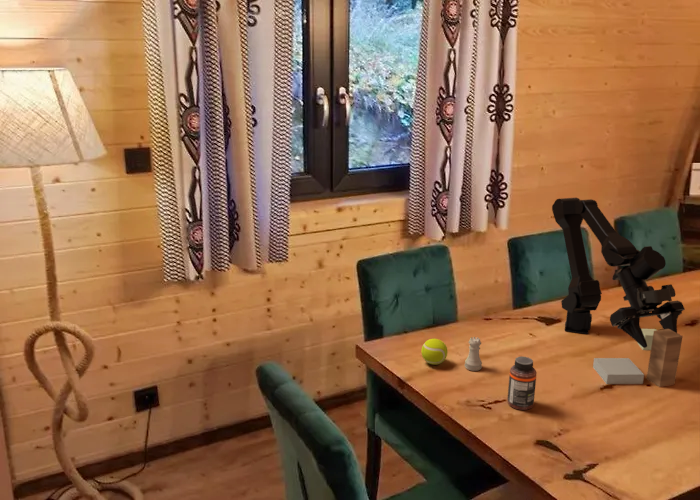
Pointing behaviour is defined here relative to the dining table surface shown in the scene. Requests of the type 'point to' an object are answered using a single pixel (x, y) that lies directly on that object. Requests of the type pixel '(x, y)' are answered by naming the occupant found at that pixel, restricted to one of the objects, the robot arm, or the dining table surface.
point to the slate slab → (618, 371)
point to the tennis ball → (434, 351)
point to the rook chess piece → (473, 355)
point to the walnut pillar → (664, 357)
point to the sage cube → (648, 338)
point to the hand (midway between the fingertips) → (661, 344)
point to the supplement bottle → (522, 384)
